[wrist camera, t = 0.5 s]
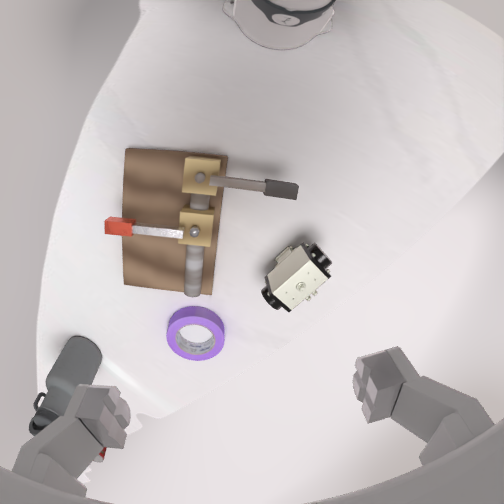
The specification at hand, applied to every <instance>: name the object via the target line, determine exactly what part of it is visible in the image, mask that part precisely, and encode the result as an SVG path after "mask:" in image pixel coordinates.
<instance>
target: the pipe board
mask: <svg viewBox="0 0 504 504" xmlns="http://www.w3.org/2000/svg"><path fill="white" fill-rule="evenodd" d="M227 159H228V156H224V155H215V154H205V153H195V152H184V151H171V150H156V149H137V148H127V149H126V150H125V163H124V179H123V204H122V218H129V219H136V222H138V223H148V224H158V225H167V226H177V227H185V230H184V236H183V239H180V238H171V237H162V236H152V235H143V234H134V235H133V236H132V237H130V236H122V251H123V277H124V285H131V286H138V287H146V288H153V289H161V290H170V291H178V292H184V294H185V295H187V296H189V297H197V296H199V295H200V294H205V295H212V286H213V276H214V266H215V257H216V248H217V239H218V230H219V221H220V213H221V205H222V197H223V189H224V187H228V188H236V189H244V190H252V191H260V192H263V193H264V195H265V196H272V197H279V198H286V199H293V200H296V199H297V194H298V188H299V186H298V185H297V184H296V183H290V182H283V181H277V180H270V179H265V182H263V181H255V180H248V179H240V178H232V177H225V174H226V166H227ZM193 226H197V227H199V229H200V232H199V235H198V236H197V237H191V236H190V233H189V232H190V229H191V227H193Z"/></svg>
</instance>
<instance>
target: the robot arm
mask: <svg viewBox="0 0 504 504" xmlns="http://www.w3.org/2000/svg"><path fill="white" fill-rule="evenodd" d="M231 2H234V4H231ZM334 3H335V0H226V1H225V3H224V6H223V11H224V12H225V13H226V14H227V15H228V16H230V17H231V18H233V19H234V20H235V21H236V22H237V24H238V26H239V28H240V29H241V31H242V32H243V33H244V34H245V35H246V36H247V37H248V38H249V39H251V40H252V41H254V42H255V43H257V44H259V45H262V46H264V47H267V48H272V49H279V50H287V49H294V48H297V47H300V46H302V45H304V44H306V43H308V42H309V41H310V40H311V39H313V38H314V37H315V36H317V35H319V34H323V33H327V32H329V31H330V30H331V29H332V19H331V18H332V16H333V15H334V13H335V10H334V9H333V4H334ZM355 367H356V369H357V371H356V373H355V374H354V376H353V388H354V392H355V395H356V397H357V399H358V400H359V401H361V402H363V405H362V411H363V414H364V416H365V418H366V420H367V423H372V422H375V421H378V420H382V419H385V418H388V417H391V419H393V420H394V421H396V422H397V423H399V424H400V425H402V426H403V427H404V428H406V429H407V430H409V431H410V432H412V433H413V434H415V435H416V436H418V437H419V438H421V439H422V440H424V441H425V442H427V445H426V446H425V448H424V449H423V451H422V452H421V454H420V456H419V459H420V461H421V463H422V465H423V466H421V467H419V468H417V469H415V470H412V471H410V472H408V473H405V474H403V475H400V476H398V477H395V478H393V479H390V480H387V481H385V482H382V483H379V484H376V485H373V486H371V487H367V488H364V489H361V490H358V491H355V492H351V493H348V494H344V495H340V496H336V497H332V498H328V499H325V500H320V501H315V502H310V503H306V504H504V419H502V420H501V421H499V422H498V423H497V424H494V423H493V421H492V420H491V418H490V417H489V415H488V414H487V413H486V411H485V410H484V408H483V407H482V405H481V404H480V403H479V401H478V400H477V399H475V398H473V397H471V396H469V395H466V394H464V393H462V392H459V391H457V390H455V389H452V388H450V387H448V386H446V385H443V384H441V383H439V382H436V381H434V380H432V379H429V378H428V377H425V376H422V377H420V376H419V374H418V373H417V371H416V370H415V368H414V367H413V365H412V364H411V363H410V361H409V360H408V358H407V357H406V356H405V354H404V353H403V351H402V350H401V348H399V347H398V346H397V347H394V348H390V349H387V350H384V351H379V352H376V353H372V354H369V355H365V356H362V357H358V358H357V359H356V363H355ZM119 396H120V391H119V390H118V388H117V387H115V386H103V385H87V384H79V385H78V386H77V387H76V389H75V391H74V394H73V396H72V398H71V400H70V402H69V405H68V407H67V409H66V412H65V414H64V416H60V417H58V418H57V419H56V420H55V421H53V422H52V423H51V424H49V425H48V426H47V427H46V428H44V429H43V430H42V431H41V432H39V433H38V434H37V435H35V436H34V437H33V438H32V439H30V440H29V441H28V442H26V443H25V444H24V445H23V446H22V447H21V449H20V452H19V454H18V457H17V459H16V462H15V464H14V467H13V470H12V471H9V470H7V469H5V468H3V467H1V466H0V504H112V503H107V502H102V501H98V500H94V499H90V498H86V497H85V496H86V491H87V488H86V487H85V485H83V484H82V483H81V482H79V481H78V480H77V478H78V477H79V476H80V475H81V474H82V472H83V471H84V470H85V469H86V468H87V467H88V466H89V465H90V463H91V462H92V461H93V460H94V459H95V458H96V456H97V455H98V454H99V453H100V452H101V451H102V450H103V447H109V448H120V449H123V448H124V444H125V439H126V435H127V434H126V432H125V430H124V429H125V428H126V427H127V426H128V425H129V423H130V409H129V406H128V404H127V402H126V401H125V400H123V399H122V398H120V397H119Z"/></svg>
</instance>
